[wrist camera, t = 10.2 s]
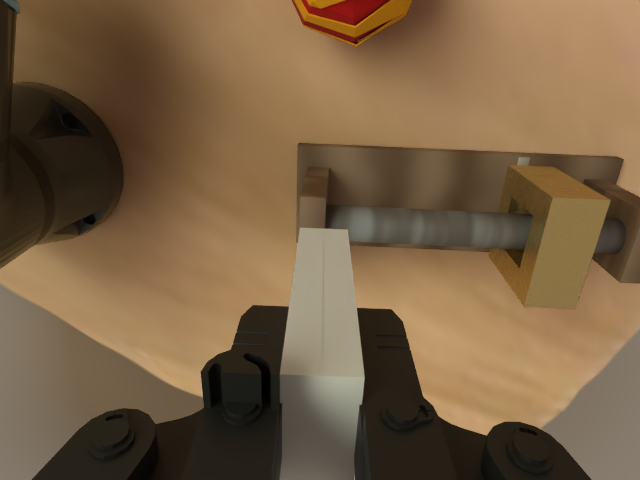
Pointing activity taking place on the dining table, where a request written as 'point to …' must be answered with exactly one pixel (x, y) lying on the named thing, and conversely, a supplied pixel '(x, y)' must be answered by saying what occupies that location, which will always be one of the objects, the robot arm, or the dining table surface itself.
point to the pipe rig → (450, 199)
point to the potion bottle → (350, 17)
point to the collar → (550, 235)
